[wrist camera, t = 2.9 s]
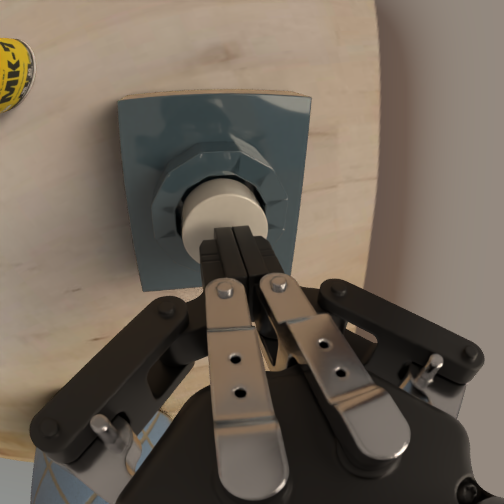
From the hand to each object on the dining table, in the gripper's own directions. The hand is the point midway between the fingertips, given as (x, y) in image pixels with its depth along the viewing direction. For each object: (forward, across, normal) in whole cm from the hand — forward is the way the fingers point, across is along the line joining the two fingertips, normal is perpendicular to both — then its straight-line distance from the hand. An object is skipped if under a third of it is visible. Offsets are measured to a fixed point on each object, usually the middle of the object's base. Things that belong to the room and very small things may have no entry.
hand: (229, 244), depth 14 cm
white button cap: (+3, 0, 0) cm, 3 cm away
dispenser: (+7, 0, 0) cm, 7 cm away
